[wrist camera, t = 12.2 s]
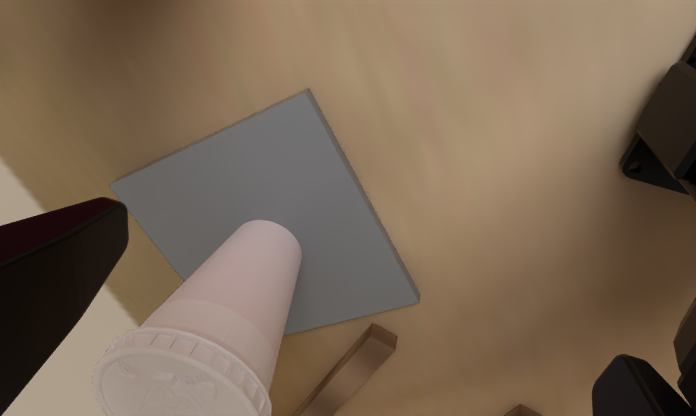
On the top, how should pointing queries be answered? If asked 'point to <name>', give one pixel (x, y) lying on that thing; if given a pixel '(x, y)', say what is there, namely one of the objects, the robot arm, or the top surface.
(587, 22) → the top surface
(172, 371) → the smoothie
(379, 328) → the lane
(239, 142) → the plate
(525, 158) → the top surface
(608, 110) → the top surface
